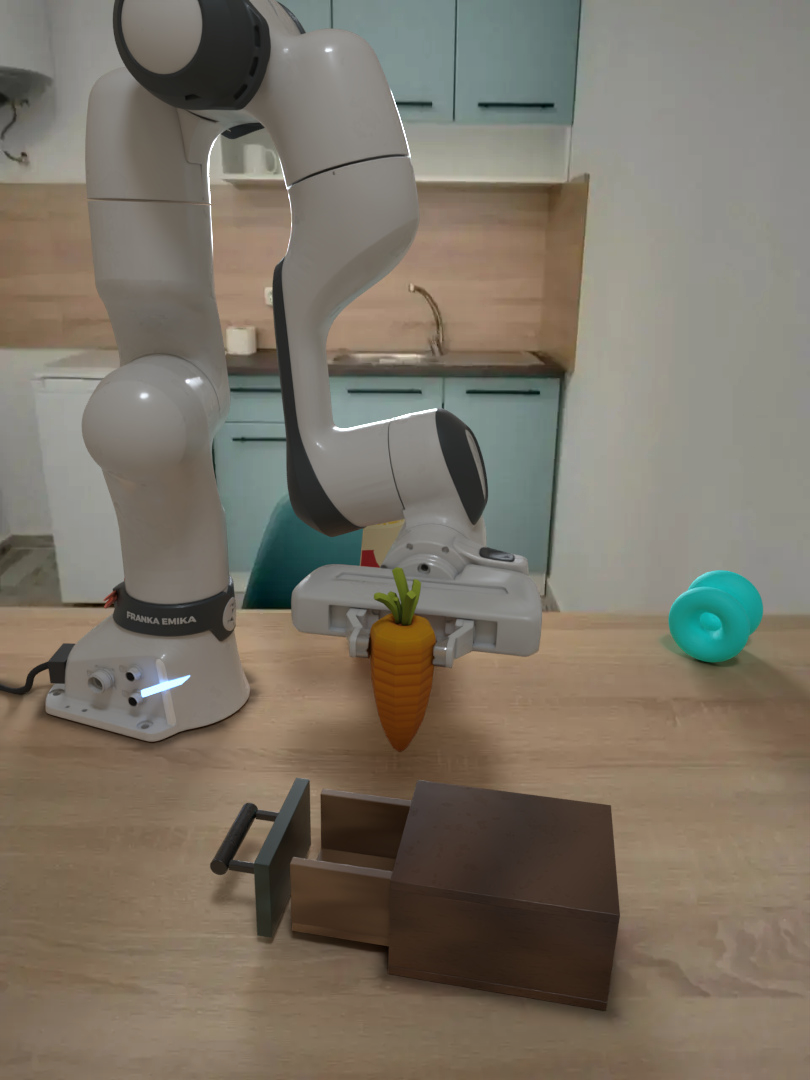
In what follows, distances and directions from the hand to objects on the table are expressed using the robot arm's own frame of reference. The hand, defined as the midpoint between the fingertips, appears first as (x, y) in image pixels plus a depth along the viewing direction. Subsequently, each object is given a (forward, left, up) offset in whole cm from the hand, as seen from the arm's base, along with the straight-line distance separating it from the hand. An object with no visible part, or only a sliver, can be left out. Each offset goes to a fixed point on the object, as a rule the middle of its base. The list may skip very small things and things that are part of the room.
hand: (400, 654), depth 61 cm
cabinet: (+9, -3, -22) cm, 24 cm away
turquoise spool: (+33, +50, -22) cm, 64 cm away
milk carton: (-9, +44, -22) cm, 51 cm away
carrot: (0, +1, -9) cm, 9 cm away
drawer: (-4, -3, -21) cm, 21 cm away
